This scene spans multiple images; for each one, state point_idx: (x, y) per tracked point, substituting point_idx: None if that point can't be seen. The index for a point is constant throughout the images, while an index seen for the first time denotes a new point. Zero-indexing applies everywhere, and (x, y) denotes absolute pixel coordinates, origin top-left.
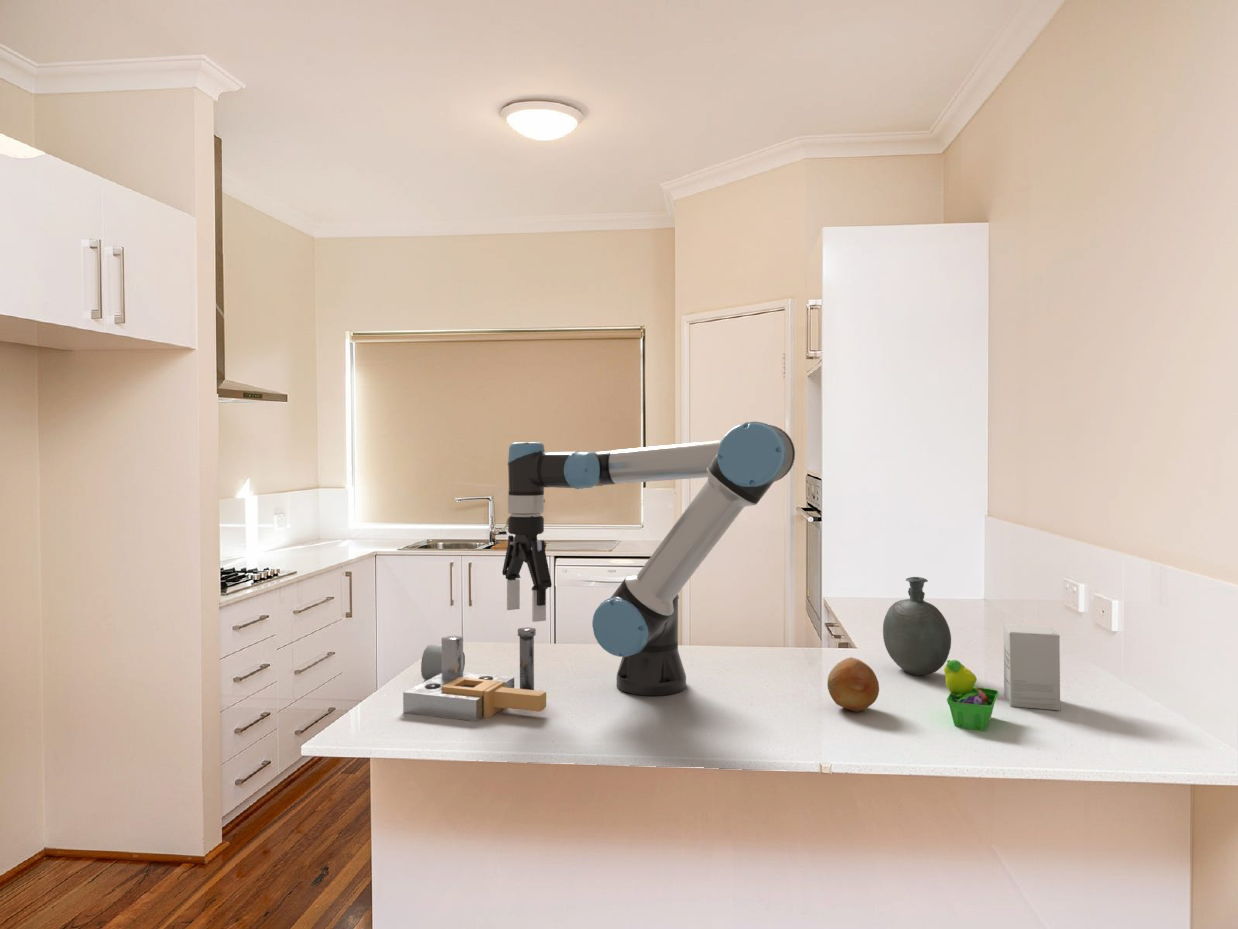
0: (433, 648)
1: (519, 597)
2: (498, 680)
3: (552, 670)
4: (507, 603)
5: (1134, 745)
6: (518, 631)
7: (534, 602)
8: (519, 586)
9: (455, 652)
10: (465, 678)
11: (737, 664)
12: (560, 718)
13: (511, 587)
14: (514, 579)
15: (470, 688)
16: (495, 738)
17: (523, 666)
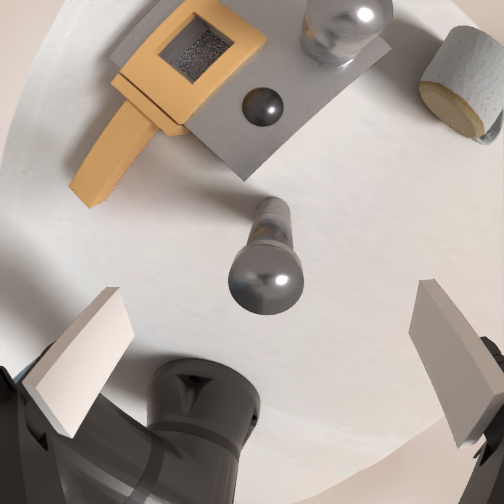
0: (488, 52)
1: (426, 370)
2: (232, 133)
3: (386, 315)
4: (440, 297)
5: None
6: (263, 246)
7: (60, 341)
8: (446, 415)
9: (305, 12)
10: (244, 46)
11: (250, 478)
12: (92, 213)
13: (464, 376)
14: (486, 427)
15: (149, 46)
16: (52, 91)
17: (256, 219)
